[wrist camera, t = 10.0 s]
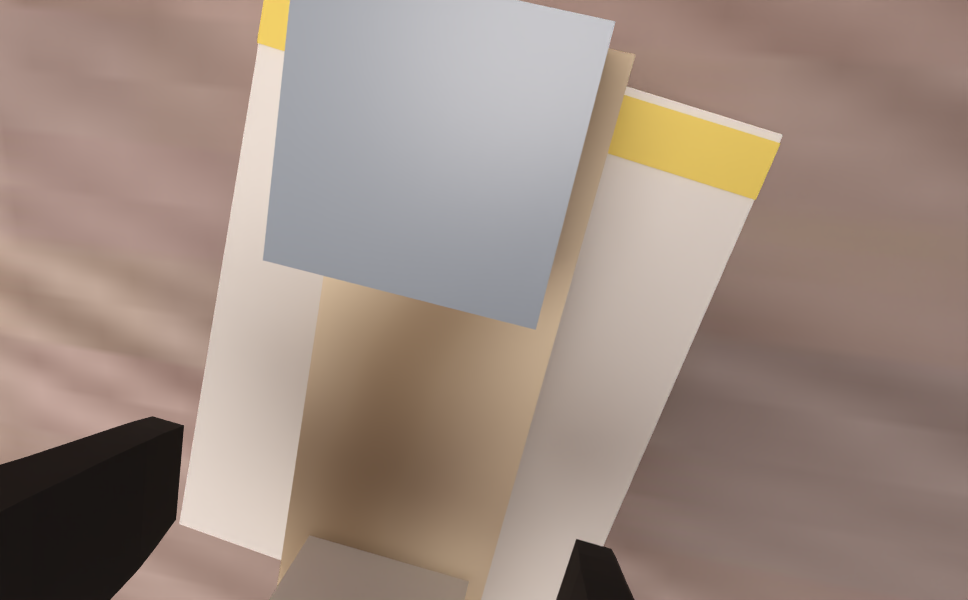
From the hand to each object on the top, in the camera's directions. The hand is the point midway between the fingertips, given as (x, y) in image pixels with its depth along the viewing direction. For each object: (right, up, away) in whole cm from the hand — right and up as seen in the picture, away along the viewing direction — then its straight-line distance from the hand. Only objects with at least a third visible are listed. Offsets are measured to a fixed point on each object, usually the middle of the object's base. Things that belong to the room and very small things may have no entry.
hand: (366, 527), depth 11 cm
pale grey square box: (+2, +7, +1) cm, 7 cm away
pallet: (+1, +2, +7) cm, 7 cm away
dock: (+1, +3, +9) cm, 9 cm away
